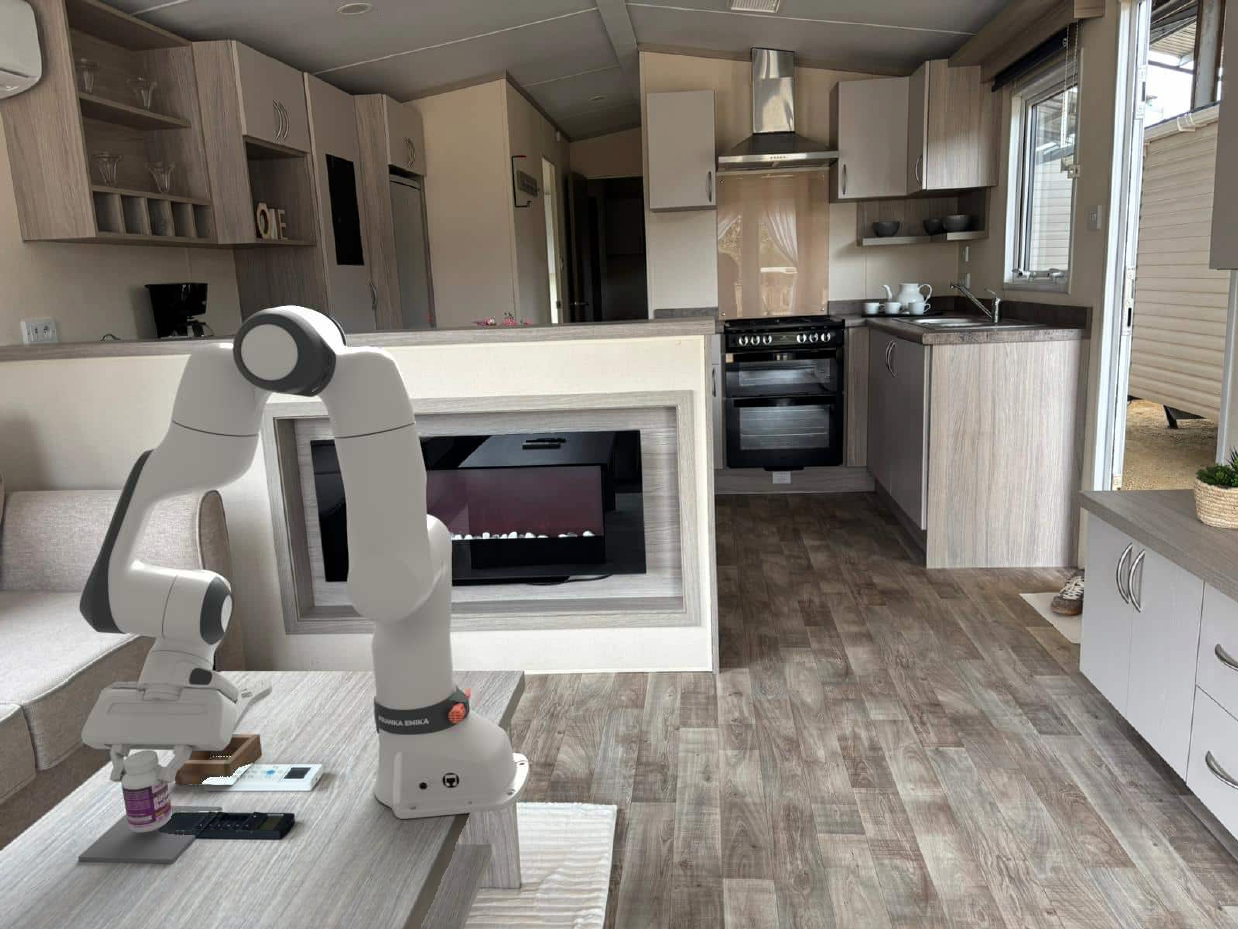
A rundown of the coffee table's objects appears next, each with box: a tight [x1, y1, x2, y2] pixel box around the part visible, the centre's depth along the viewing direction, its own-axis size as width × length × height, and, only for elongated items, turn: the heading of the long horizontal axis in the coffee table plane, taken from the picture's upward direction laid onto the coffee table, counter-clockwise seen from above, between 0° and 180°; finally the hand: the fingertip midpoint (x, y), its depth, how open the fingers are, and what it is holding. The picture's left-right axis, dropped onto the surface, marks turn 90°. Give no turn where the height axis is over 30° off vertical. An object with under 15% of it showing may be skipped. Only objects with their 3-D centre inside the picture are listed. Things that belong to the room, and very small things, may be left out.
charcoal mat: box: [77, 805, 223, 865], centre depth 123 cm, size 13×12×1 cm
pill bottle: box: [120, 750, 172, 833], centre depth 122 cm, size 5×5×10 cm
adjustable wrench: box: [233, 679, 273, 734], centre depth 157 cm, size 25×6×2 cm, turn 1°
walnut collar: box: [174, 733, 263, 786], centre depth 139 cm, size 9×9×4 cm
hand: (141, 782), depth 121 cm, fingers closed on pill bottle, 5 cm apart
